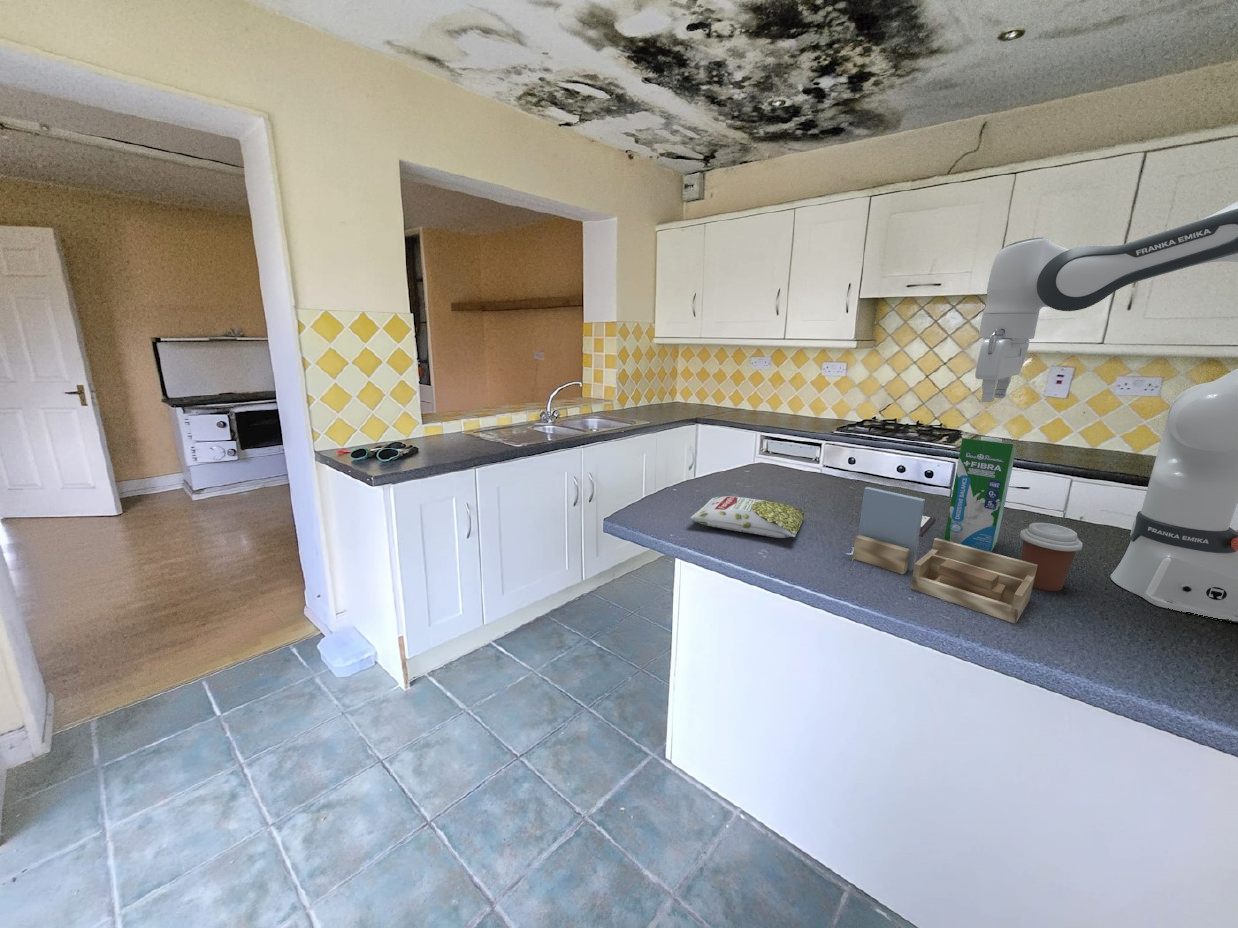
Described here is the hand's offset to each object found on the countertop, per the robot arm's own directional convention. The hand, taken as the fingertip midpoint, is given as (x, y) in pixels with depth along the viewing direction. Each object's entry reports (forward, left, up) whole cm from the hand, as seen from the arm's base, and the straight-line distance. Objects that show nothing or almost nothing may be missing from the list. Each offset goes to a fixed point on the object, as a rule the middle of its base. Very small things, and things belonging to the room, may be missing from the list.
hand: (993, 400), depth 103 cm
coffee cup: (-14, +6, -34) cm, 38 cm away
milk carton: (+1, -9, -34) cm, 36 cm away
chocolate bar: (+15, -10, -35) cm, 39 cm away
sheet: (+10, +18, -33) cm, 39 cm away
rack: (-6, +21, -34) cm, 41 cm away
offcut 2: (-7, +23, -31) cm, 40 cm away
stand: (+10, +18, -34) cm, 40 cm away
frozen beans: (+42, +20, -35) cm, 58 cm away
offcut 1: (-6, +23, -30) cm, 38 cm away
